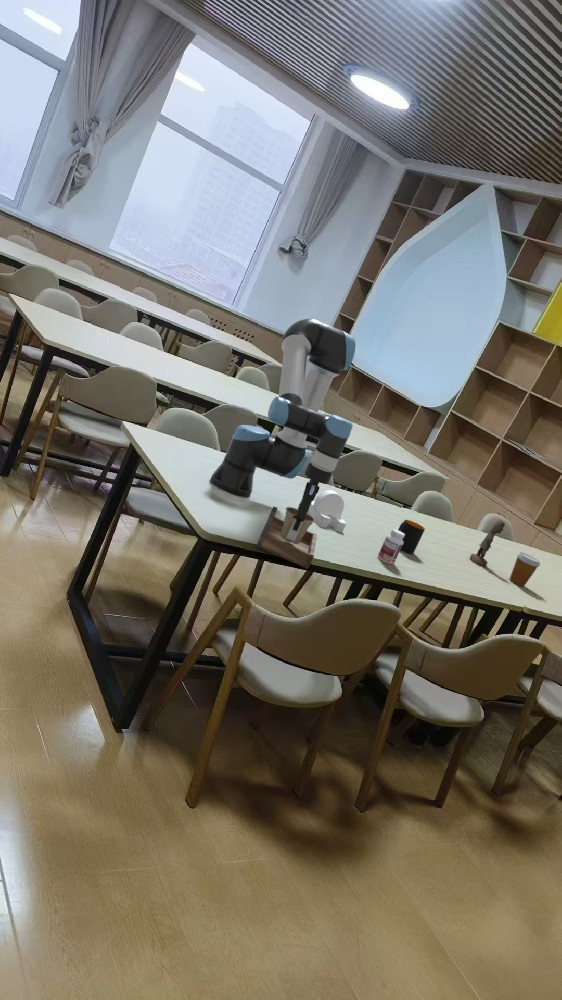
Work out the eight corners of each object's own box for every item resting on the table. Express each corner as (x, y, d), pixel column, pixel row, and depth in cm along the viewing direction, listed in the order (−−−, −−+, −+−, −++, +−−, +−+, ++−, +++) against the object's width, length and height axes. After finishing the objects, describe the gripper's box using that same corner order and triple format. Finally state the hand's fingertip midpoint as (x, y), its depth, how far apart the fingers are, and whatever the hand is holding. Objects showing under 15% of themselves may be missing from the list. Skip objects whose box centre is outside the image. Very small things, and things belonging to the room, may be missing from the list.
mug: (402, 543, 294) (413, 519, 292) (417, 556, 284) (429, 531, 281) (384, 537, 291) (396, 513, 288) (399, 551, 280) (411, 526, 278)
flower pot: (304, 541, 232) (315, 516, 230) (303, 550, 223) (314, 524, 221) (276, 529, 232) (287, 504, 230) (273, 537, 222) (284, 511, 220)
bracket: (343, 533, 272) (355, 505, 269) (318, 526, 268) (331, 497, 265) (326, 514, 289) (337, 487, 286) (302, 507, 285) (314, 480, 282)
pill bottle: (387, 558, 263) (400, 530, 261) (397, 566, 258) (410, 537, 255) (373, 554, 260) (387, 526, 257) (383, 563, 255) (396, 534, 252)
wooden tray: (264, 525, 240) (273, 506, 238) (312, 545, 240) (320, 526, 238) (255, 546, 215) (265, 525, 214) (308, 569, 215) (317, 547, 214)
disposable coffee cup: (502, 575, 312) (515, 549, 310) (522, 582, 314) (535, 557, 311) (510, 583, 303) (524, 557, 300) (531, 591, 305) (545, 565, 302)
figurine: (489, 569, 313) (511, 526, 309) (473, 563, 311) (495, 520, 307) (480, 560, 322) (501, 518, 317) (465, 555, 320) (486, 513, 315)
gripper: (311, 456, 232) (283, 521, 237) (307, 468, 211) (276, 539, 216) (333, 465, 232) (305, 530, 237) (332, 478, 211) (301, 550, 216)
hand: (291, 535), depth 227 cm, fingers closed on flower pot, 9 cm apart
